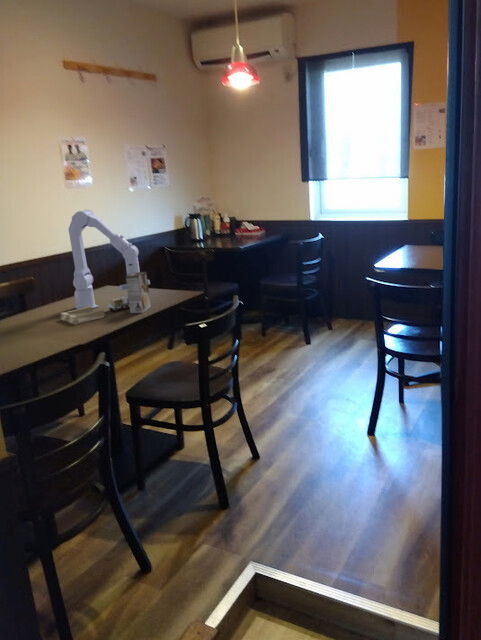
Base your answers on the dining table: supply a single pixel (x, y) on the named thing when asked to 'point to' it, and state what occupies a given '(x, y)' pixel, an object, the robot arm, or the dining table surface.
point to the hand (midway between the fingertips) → (137, 302)
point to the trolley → (118, 303)
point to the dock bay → (81, 315)
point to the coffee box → (138, 292)
